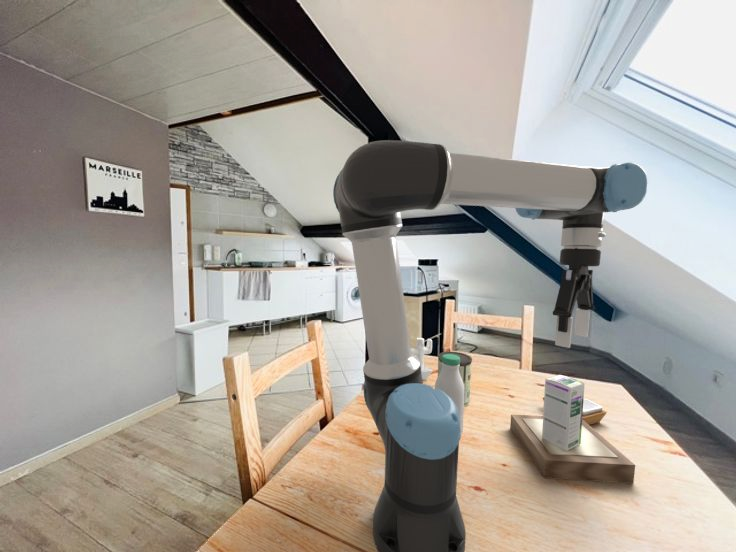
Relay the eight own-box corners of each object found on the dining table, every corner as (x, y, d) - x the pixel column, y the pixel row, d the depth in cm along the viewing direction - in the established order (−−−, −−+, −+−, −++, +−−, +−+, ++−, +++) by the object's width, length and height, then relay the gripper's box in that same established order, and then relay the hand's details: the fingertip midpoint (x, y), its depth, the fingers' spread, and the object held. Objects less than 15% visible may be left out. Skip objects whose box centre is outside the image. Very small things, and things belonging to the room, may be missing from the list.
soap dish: (606, 424, 87) (607, 407, 87) (582, 431, 83) (583, 413, 83) (563, 403, 99) (565, 388, 98) (541, 408, 95) (542, 392, 95)
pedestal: (544, 477, 66) (545, 459, 65) (510, 428, 83) (511, 413, 83) (633, 483, 65) (635, 464, 64) (579, 432, 82) (580, 417, 82)
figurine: (403, 375, 117) (404, 336, 116) (425, 372, 120) (426, 334, 119) (412, 383, 110) (413, 342, 109) (435, 380, 114) (436, 340, 112)
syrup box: (567, 452, 67) (572, 387, 66) (540, 437, 73) (545, 377, 71) (581, 444, 70) (586, 382, 69) (554, 431, 75) (559, 373, 74)
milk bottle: (464, 440, 78) (468, 362, 76) (432, 436, 79) (435, 360, 78) (461, 423, 85) (464, 352, 84) (432, 420, 87) (435, 350, 85)
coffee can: (435, 390, 105) (437, 350, 104) (467, 394, 103) (469, 352, 102) (436, 406, 95) (438, 361, 94) (472, 409, 93) (474, 364, 92)
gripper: (584, 246, 59) (574, 356, 60) (613, 249, 75) (605, 335, 77) (541, 246, 64) (533, 346, 66) (577, 249, 81) (570, 329, 83)
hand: (572, 340), depth 72 cm, fingers open, 13 cm apart
